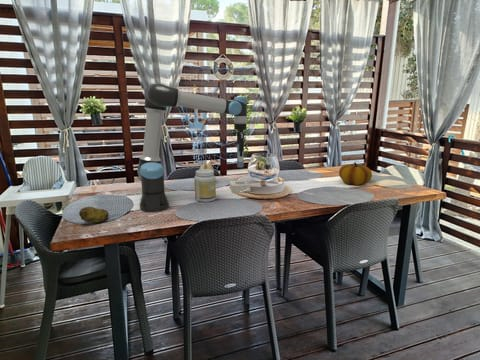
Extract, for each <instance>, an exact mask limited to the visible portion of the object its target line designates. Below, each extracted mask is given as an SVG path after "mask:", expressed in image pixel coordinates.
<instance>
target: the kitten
mask: <svg viewBox="0 0 480 360" xmlns="http://www.w3.org/2000/svg"><path fill="white" fill-rule="evenodd" d="M212 164H213V163H212V160H210V161H208V163H204V164H202V165H200V167H199V169H198V170H200V169H211V170H214V167H213V166H212ZM214 171H215V170H214Z"/></svg>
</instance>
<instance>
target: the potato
mask: <svg viewBox="0 0 480 360" xmlns="http://www.w3.org/2000/svg"><path fill="white" fill-rule="evenodd" d="M78 215H79V216H80V220H82V221H84V222H88V223H96V224H97V223H101V222H104V221H105V220H107V219H108V217H109V211H108V210H106V209H103V208H96V207H93V206H84V207H83V208H81V209H80V210H79V211H78Z"/></svg>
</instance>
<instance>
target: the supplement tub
mask: <svg viewBox="0 0 480 360" xmlns="http://www.w3.org/2000/svg"><path fill="white" fill-rule="evenodd" d="M199 169H200V168H199ZM199 169H197V170H195V175H194V177H193V179H194V183H193V184H194V199H195V200H196V201H197V202H201V203H209V202H212V201H215V200H216V198H217V191H216V190H217V188H216V187H217V186H216V182H217V181H216V180H217V179H216V175H214V174H215V170H211V169H200V170H199Z"/></svg>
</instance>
